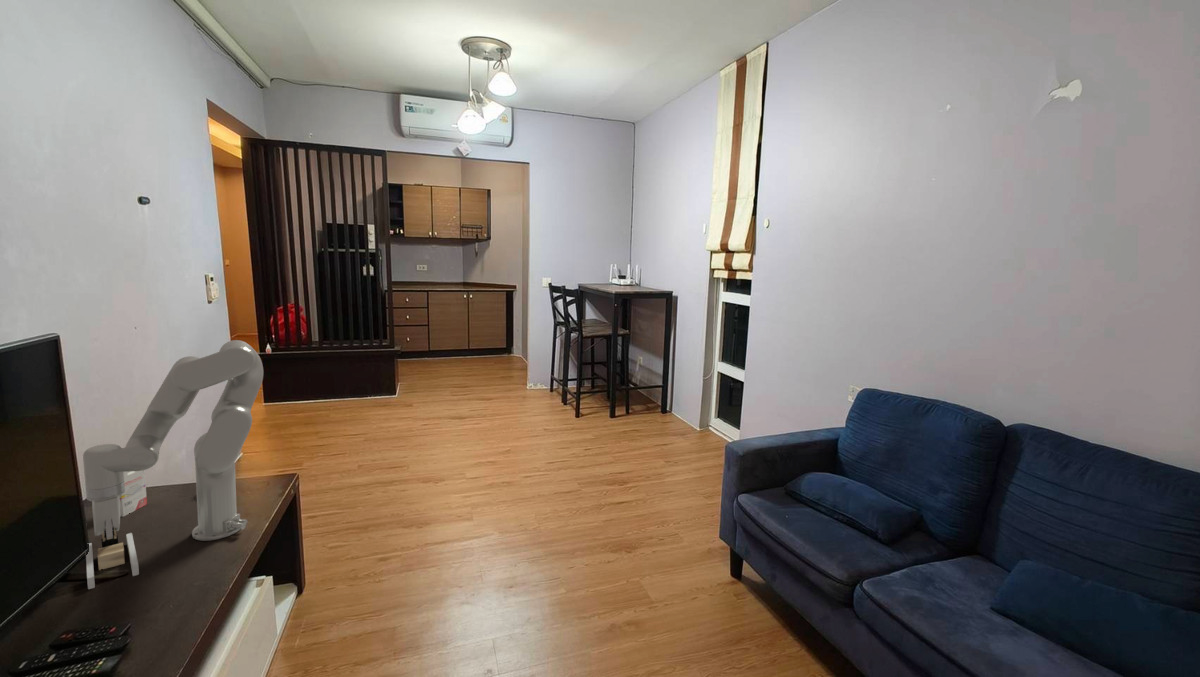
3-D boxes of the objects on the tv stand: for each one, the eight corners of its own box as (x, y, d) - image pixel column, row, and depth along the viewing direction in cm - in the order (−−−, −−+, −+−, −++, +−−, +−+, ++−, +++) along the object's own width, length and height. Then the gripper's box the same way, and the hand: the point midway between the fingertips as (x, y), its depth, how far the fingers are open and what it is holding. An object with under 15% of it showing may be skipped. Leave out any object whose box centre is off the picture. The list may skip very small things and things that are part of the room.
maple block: (98, 562, 135) (97, 548, 134) (124, 555, 138) (123, 542, 138) (98, 571, 131) (97, 557, 131) (124, 563, 135) (123, 550, 134)
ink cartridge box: (133, 503, 165) (130, 461, 163) (147, 504, 165) (145, 462, 163) (107, 516, 157) (103, 472, 154) (122, 517, 157) (119, 473, 154)
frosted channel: (86, 554, 137) (85, 544, 137) (132, 542, 144) (131, 532, 144) (88, 589, 124) (87, 578, 123) (139, 574, 131) (138, 564, 130)
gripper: (85, 484, 138) (91, 544, 140) (86, 504, 127) (91, 569, 130) (123, 477, 143) (127, 535, 146) (126, 495, 133) (131, 558, 135)
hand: (110, 551), depth 138 cm, fingers closed
